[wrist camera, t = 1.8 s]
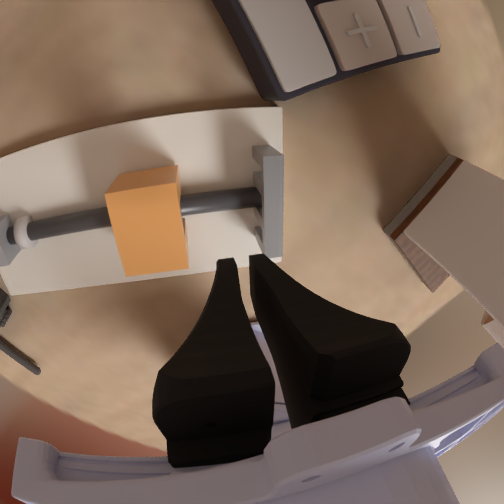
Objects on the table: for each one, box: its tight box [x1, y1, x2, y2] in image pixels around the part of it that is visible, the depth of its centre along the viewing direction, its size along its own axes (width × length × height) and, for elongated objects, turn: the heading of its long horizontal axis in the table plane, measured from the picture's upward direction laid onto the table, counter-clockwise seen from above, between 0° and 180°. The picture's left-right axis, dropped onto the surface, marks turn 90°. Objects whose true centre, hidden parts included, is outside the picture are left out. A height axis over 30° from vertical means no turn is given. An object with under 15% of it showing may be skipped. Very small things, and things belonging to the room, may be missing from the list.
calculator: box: [212, 0, 441, 101], centre depth 14 cm, size 11×4×15 cm
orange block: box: [104, 165, 189, 277], centre depth 18 cm, size 5×4×4 cm
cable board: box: [0, 106, 284, 296], centre depth 18 cm, size 12×25×4 cm, turn 91°
